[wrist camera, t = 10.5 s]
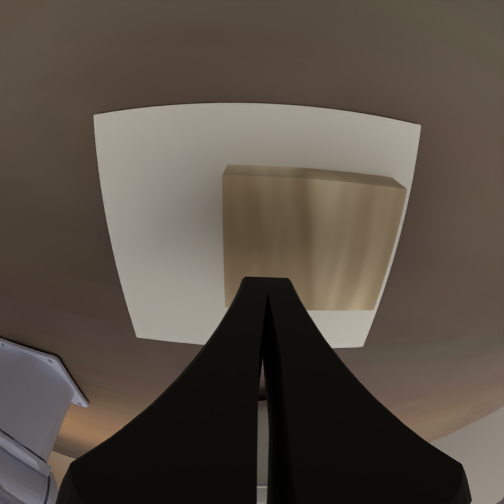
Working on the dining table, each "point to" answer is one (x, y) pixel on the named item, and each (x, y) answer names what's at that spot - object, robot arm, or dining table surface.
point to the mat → (210, 199)
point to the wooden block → (310, 232)
